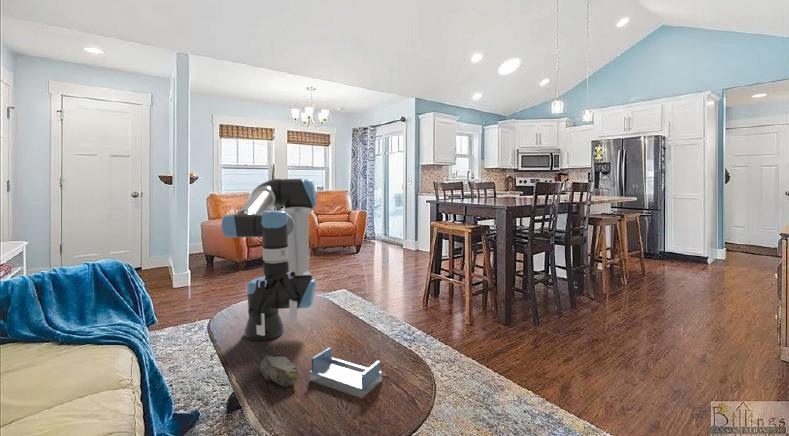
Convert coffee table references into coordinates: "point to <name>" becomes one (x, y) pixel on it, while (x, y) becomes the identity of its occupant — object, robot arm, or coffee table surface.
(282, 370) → the rock
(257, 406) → the coffee table surface
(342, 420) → the coffee table surface
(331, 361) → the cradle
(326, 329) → the coffee table surface
